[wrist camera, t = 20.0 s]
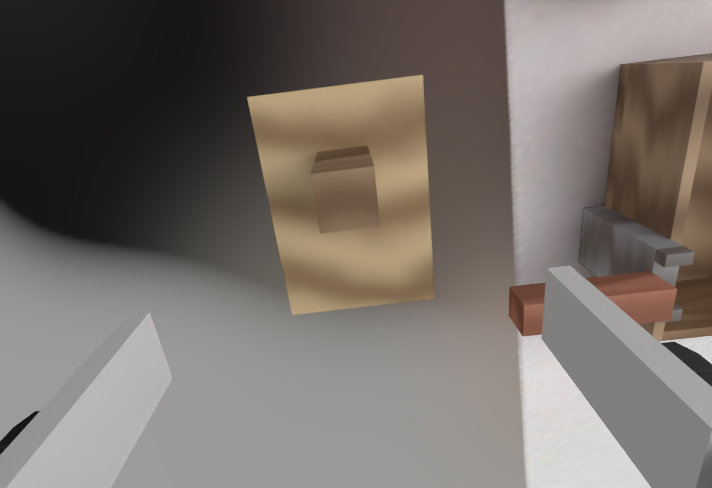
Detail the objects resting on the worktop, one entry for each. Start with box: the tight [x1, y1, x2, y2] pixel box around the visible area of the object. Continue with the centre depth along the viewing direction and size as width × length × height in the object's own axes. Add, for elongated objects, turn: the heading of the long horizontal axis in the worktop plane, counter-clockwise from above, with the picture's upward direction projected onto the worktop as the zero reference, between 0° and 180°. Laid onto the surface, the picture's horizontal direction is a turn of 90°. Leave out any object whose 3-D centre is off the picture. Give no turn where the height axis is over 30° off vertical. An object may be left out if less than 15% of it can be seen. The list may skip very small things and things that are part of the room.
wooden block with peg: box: [247, 75, 435, 315], centre depth 32 cm, size 19×13×9 cm
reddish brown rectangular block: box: [509, 271, 677, 336], centre depth 28 cm, size 2×10×2 cm, turn 97°
